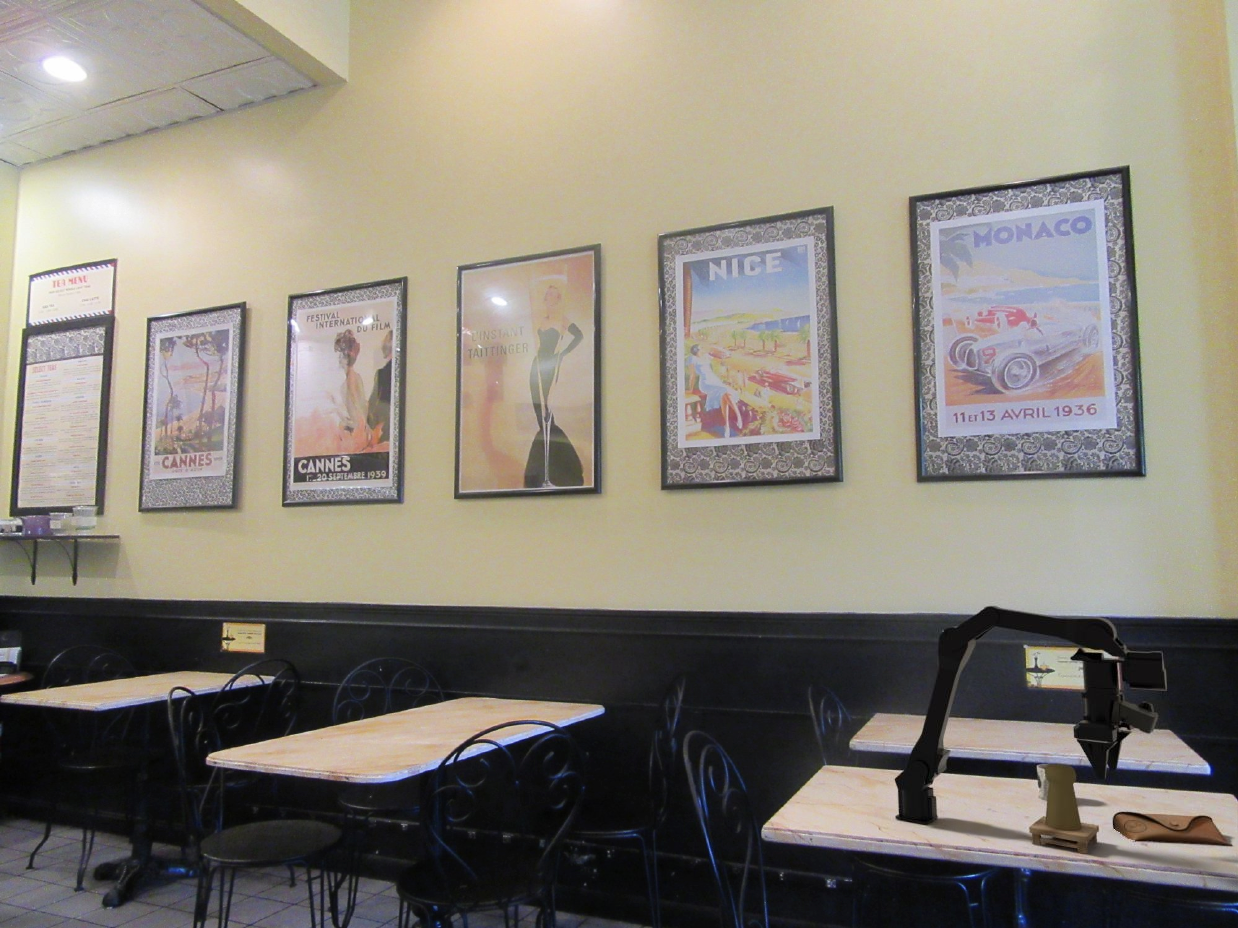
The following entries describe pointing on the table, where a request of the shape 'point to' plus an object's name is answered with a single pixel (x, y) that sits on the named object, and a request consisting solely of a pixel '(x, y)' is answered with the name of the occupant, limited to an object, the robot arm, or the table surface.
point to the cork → (1061, 798)
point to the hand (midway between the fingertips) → (1107, 774)
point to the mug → (1042, 782)
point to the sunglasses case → (1168, 828)
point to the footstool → (1064, 835)
